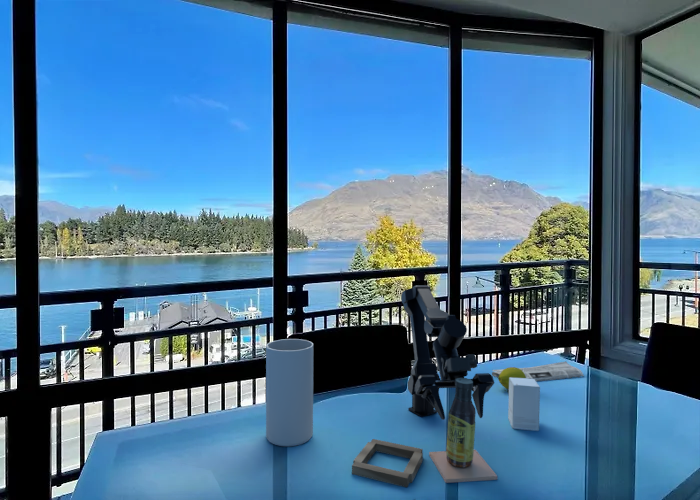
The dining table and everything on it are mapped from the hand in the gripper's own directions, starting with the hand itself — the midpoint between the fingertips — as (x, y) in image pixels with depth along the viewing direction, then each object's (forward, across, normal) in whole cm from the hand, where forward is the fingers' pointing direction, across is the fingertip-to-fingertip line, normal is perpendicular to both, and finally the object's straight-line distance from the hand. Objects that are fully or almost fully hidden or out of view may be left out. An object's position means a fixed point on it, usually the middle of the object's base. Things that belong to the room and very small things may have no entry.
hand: (462, 418), depth 101 cm
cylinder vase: (-6, -41, +22) cm, 47 cm away
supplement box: (-6, +26, +23) cm, 35 cm away
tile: (+8, 0, +8) cm, 12 cm away
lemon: (-25, +37, +42) cm, 61 cm away
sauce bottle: (+8, 0, +8) cm, 11 cm away
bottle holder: (+6, -17, +10) cm, 21 cm away
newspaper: (-34, +55, +52) cm, 84 cm away
